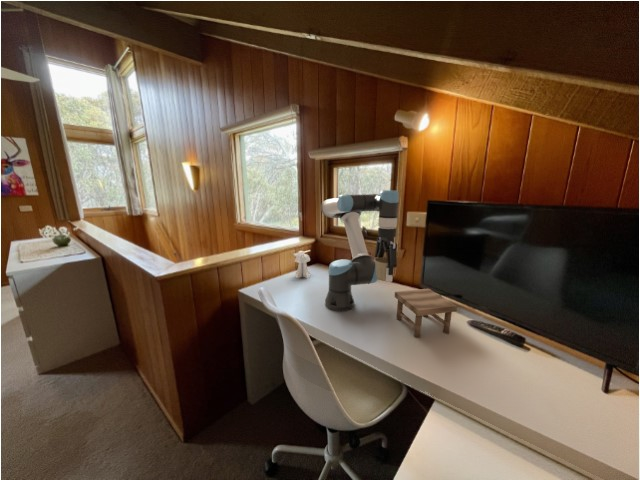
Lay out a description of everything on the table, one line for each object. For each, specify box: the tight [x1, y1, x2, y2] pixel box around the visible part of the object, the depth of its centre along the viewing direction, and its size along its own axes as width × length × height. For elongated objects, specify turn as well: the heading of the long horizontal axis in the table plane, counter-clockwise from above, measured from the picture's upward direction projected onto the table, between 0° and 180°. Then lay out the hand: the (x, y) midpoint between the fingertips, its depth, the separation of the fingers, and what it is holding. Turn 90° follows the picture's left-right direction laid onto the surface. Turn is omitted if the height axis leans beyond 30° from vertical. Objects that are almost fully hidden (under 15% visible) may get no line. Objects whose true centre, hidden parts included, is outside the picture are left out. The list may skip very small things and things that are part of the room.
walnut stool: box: [394, 288, 458, 339], centre depth 108 cm, size 18×18×13 cm
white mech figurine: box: [292, 249, 311, 279], centre depth 169 cm, size 12×13×18 cm
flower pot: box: [373, 256, 388, 282], centre depth 108 cm, size 9×9×9 cm
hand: (383, 277), depth 109 cm, fingers closed on flower pot, 8 cm apart
